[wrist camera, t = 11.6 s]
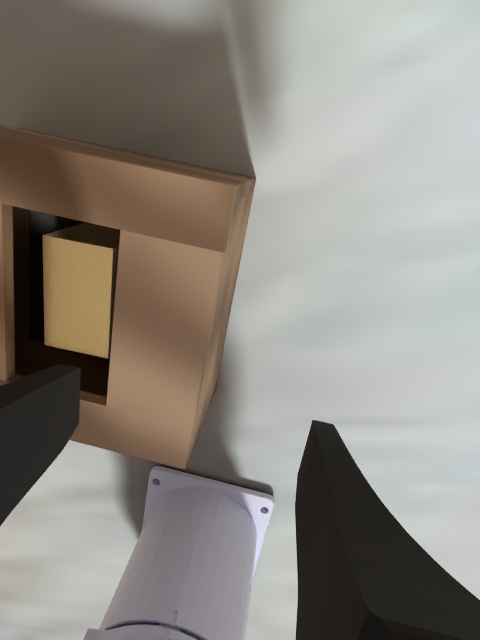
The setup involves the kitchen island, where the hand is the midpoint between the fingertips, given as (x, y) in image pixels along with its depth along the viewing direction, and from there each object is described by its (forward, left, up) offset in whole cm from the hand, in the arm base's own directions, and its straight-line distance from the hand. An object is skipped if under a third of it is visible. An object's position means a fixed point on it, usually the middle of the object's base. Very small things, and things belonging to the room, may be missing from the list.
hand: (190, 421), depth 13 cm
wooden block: (+1, +7, -10) cm, 12 cm away
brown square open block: (+1, +7, -10) cm, 12 cm away
